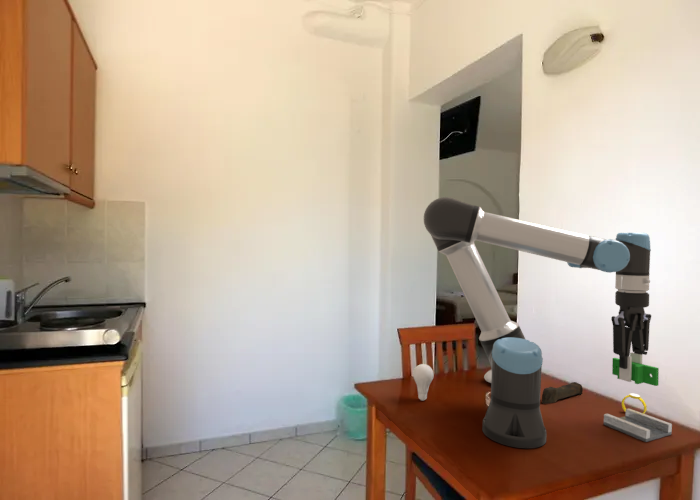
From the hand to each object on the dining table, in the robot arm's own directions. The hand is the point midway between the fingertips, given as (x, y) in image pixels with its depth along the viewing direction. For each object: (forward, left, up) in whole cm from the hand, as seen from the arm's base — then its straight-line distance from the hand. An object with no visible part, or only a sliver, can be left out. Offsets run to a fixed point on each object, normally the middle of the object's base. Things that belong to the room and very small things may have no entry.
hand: (630, 378), depth 116 cm
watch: (+11, +5, -14) cm, 18 cm away
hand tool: (+2, +22, -14) cm, 26 cm away
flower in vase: (-6, +39, -14) cm, 42 cm away
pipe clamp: (0, 0, -1) cm, 1 cm away
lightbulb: (-40, +37, -14) cm, 56 cm away
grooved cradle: (+2, -1, -13) cm, 14 cm away
